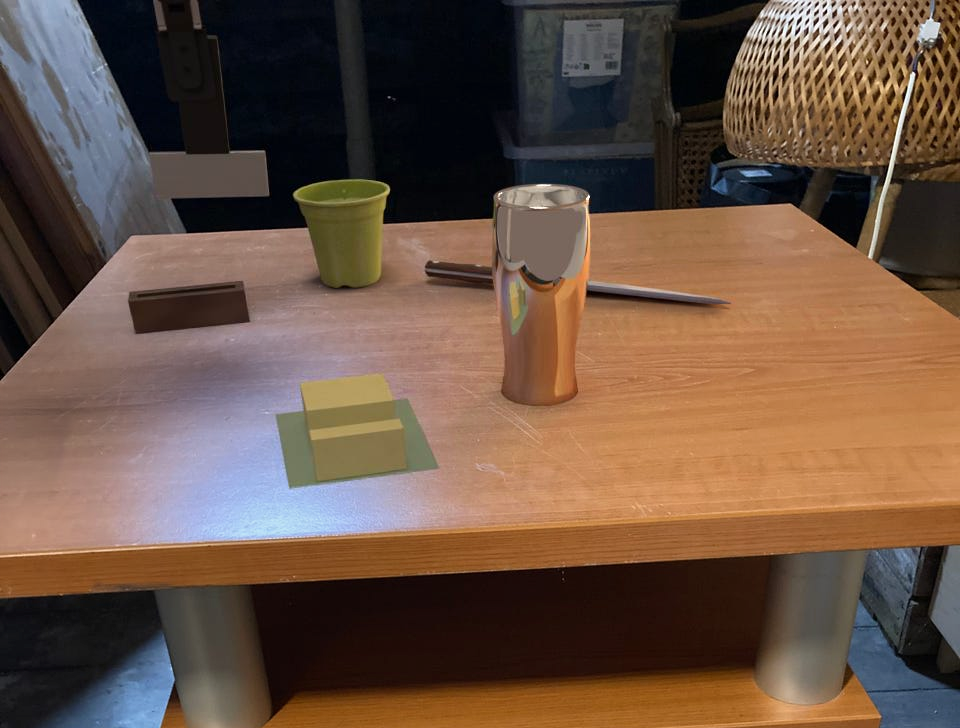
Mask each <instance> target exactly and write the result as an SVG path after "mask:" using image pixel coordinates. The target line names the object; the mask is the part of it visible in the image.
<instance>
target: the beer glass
mask: <svg viewBox="0 0 960 728" xmlns="http://www.w3.org/2000/svg"><path fill="white" fill-rule="evenodd" d="M590 217H591V216H590V193H589V192H588V191H587V190H585V189H583V188H581V187H577V186H573V185H568V184H557V183H531V184H521V185H515V186H509V187H505V188H503V189H501V190H499V191H496V192H495V194H494V195H493V212H492V227H491V229H492V230H491V267H492V278H493V284H492V286H493V293H494V299H495V304H496V310H497V315H498V320H499V327H500V330H501V336H502V342H503V343H502V344H503V352H504V353H503V354H504V368H503V376H502V382H501V389H500V393H501V395H502V396H503V398H505V400H507V401H509V402H510V403H513V404H517V405H523V406H528V407H550V406H551V407H552V406H557V405H562V404H564V403H567V402H570V401H571V400H573V399H574V398H576V396H577V395H578V393H579V388H578V387H579V385H578V380H577V374H576V373H577V372H576V349H577V341H578V337H579V333H580V332H579V331H580V327H581V322H582V317H583V313H584V307H585V303H586V297H587V291H588V290H587V285H588V280H589V279H590V267H591V220H590V219H591V218H590Z"/></svg>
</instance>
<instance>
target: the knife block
mask: <svg viewBox="0 0 960 728" xmlns="http://www.w3.org/2000/svg"><path fill="white" fill-rule="evenodd" d="M127 304H128V307H129V312H130V316H131V319H132V324H133V328H134V332H135V334H144V333H153V332H163V331H172V330H183V329H191V328H201V327H211V326H219V325H221V326H222V325H229V324H239V323H249V322H250V321H251V320H250V314H249V308H248V302H247V296H246V291H245V284H244V281H243V280H236V281H235V280H234V281H226V282H216V283H205V284H196V285H184V286H175V287H166V288H165V287H164V288H155V289H145V290H135V291H129V292H128V300H127Z"/></svg>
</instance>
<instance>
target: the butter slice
mask: <svg viewBox="0 0 960 728" xmlns="http://www.w3.org/2000/svg"><path fill="white" fill-rule="evenodd" d="M309 435H310V442H311V449H312V456H313V463H314V470H315V475H316V478H317V481H324V480H331V479H338V478H345V477H353V476H360V475H367V474H374V473H381V472H388V471H396V470H403V469H407V464H406V452H405V439H404V428H403V426H402V423H401V421H400V419H393V420H385V421H377V422H370V423H362V424H354V425H347V426H339V427H331V428H324V429H316V430H309Z"/></svg>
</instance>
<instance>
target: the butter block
mask: <svg viewBox="0 0 960 728" xmlns="http://www.w3.org/2000/svg"><path fill="white" fill-rule="evenodd" d="M299 388H300V396H301V403H302V409H303V410H302V411H304V417H305V423H306V427H307V432H308V436H309V440H310V435H309V430H316V429H324V428H331V427H339V426H347V425H354V424H362V423H370V422H377V421H385V420H393V419H395V407H394V400H395V399H394V396H393V395H392V393H391V389H390V388H389V385H388V383H387V381H386V379H385V376H384V373H383V372H380V373H370V374H363V375H354V376H347V377H346V376H345V377H336V378H329V379H328V378H327V379H320V380H319V379H318V380H312V381H302V382H299ZM310 444H311V442H310Z"/></svg>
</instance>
